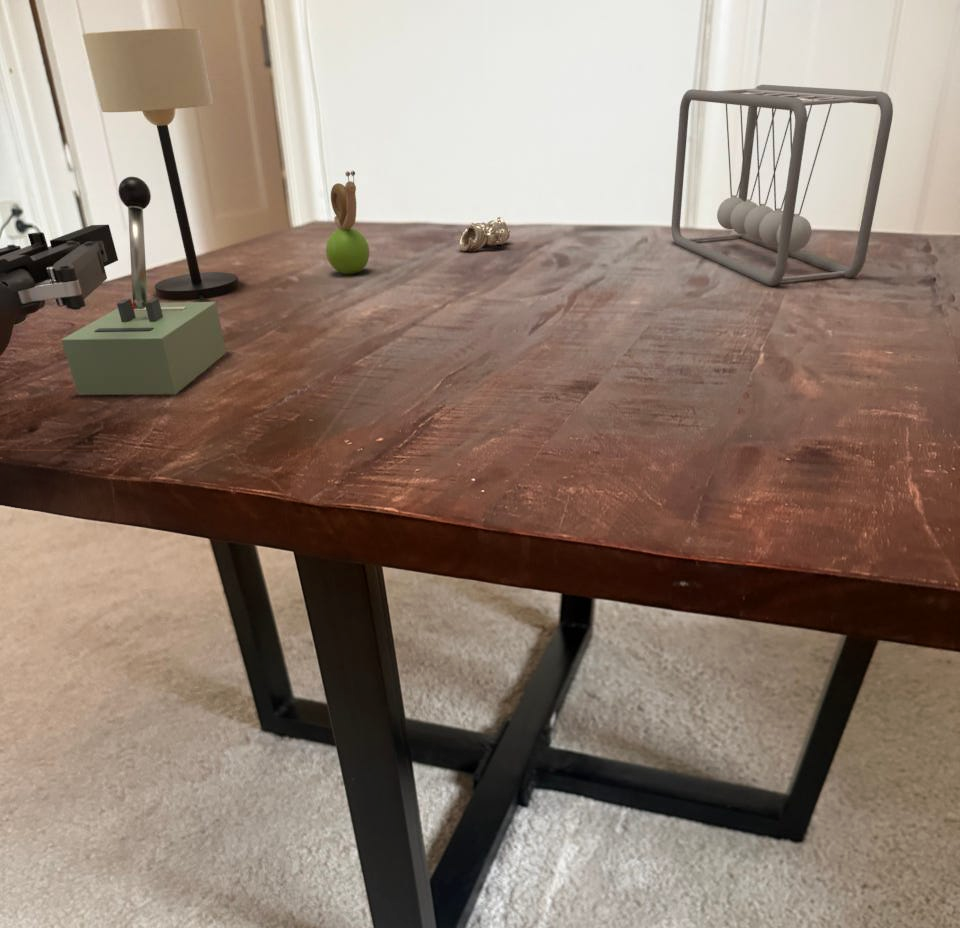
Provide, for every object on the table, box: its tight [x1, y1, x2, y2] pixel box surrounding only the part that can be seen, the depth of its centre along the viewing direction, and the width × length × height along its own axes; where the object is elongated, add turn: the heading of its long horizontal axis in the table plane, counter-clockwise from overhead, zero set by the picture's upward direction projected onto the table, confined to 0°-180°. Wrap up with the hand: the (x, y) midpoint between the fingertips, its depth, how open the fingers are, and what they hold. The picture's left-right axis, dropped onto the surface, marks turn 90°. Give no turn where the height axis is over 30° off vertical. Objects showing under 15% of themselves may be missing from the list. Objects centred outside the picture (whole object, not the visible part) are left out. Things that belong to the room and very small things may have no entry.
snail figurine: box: [325, 170, 370, 276], centre depth 108 cm, size 5×6×12 cm
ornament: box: [458, 216, 511, 252], centre depth 120 cm, size 8×7×4 cm
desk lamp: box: [82, 27, 240, 302], centre depth 97 cm, size 20×12×26 cm, turn 24°
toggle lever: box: [118, 176, 152, 309], centre depth 76 cm, size 3×3×11 cm
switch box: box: [60, 297, 227, 396], centre depth 78 cm, size 12×9×7 cm
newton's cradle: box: [670, 84, 894, 287], centre depth 102 cm, size 30×10×18 cm, turn 12°
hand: (105, 242), depth 71 cm, fingers closed
